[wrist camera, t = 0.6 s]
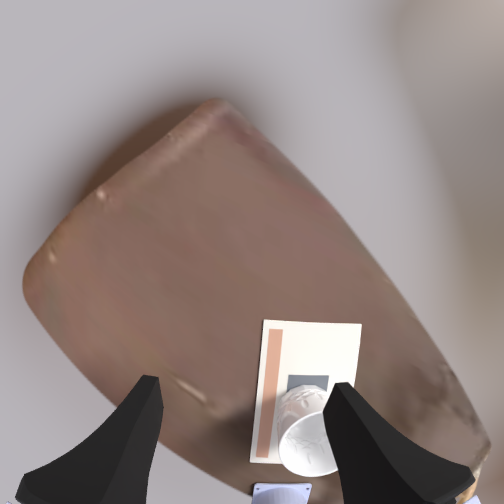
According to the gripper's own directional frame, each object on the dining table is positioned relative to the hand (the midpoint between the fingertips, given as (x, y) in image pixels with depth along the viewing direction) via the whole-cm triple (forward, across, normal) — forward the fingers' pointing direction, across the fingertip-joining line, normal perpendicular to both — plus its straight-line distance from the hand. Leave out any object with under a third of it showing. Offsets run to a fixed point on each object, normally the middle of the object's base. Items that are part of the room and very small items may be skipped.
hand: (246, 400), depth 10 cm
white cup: (+14, -9, +18) cm, 25 cm away
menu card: (+14, -9, +17) cm, 24 cm away
